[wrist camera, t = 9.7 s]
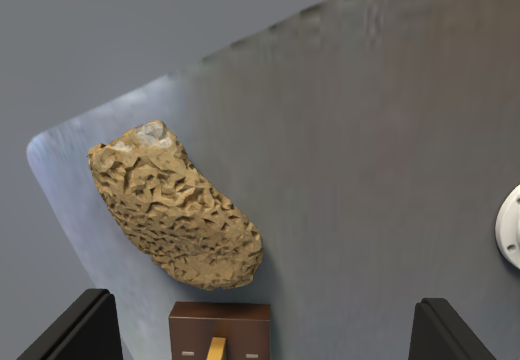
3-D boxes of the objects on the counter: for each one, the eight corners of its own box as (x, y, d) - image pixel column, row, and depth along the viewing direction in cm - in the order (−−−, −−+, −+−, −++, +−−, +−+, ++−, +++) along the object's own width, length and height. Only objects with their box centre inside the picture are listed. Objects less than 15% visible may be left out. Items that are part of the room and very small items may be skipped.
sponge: (102, 158, 37) (174, 311, 37) (62, 151, 30) (153, 345, 29) (203, 111, 38) (275, 263, 38) (190, 92, 30) (281, 283, 30)
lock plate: (270, 304, 40) (269, 321, 37) (270, 369, 42) (269, 390, 39) (176, 301, 40) (167, 318, 37) (181, 366, 43) (173, 386, 40)
